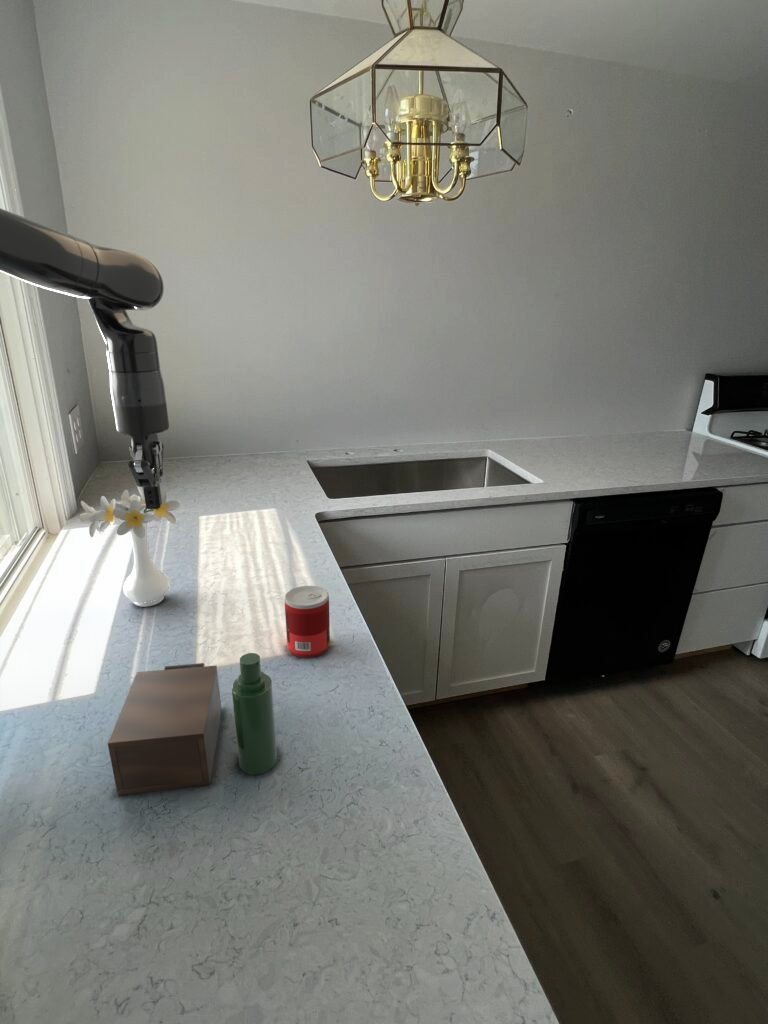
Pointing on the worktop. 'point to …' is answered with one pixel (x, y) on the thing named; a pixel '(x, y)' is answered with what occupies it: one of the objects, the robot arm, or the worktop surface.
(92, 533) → the flower vase
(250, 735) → the bottle
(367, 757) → the worktop surface
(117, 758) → the cabinet
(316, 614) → the canned food
